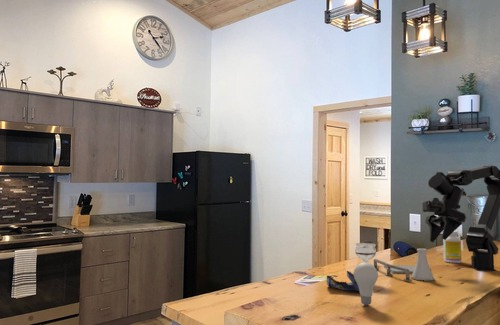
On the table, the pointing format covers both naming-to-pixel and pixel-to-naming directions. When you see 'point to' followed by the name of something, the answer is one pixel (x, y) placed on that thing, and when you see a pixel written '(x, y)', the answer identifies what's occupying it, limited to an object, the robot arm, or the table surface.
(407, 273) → the bent rail
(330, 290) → the table surface
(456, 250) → the supplement bottle
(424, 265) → the flask
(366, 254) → the wineglass
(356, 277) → the lightbulb
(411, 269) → the slate coaster
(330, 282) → the snack package
